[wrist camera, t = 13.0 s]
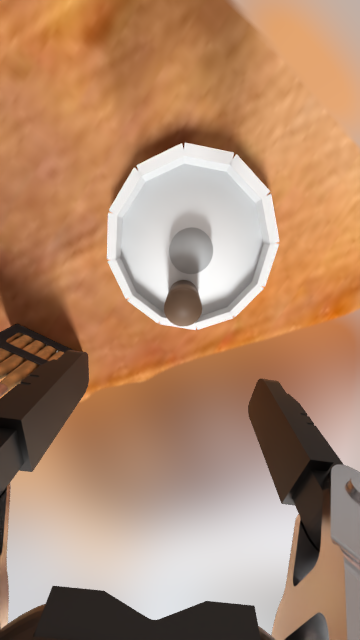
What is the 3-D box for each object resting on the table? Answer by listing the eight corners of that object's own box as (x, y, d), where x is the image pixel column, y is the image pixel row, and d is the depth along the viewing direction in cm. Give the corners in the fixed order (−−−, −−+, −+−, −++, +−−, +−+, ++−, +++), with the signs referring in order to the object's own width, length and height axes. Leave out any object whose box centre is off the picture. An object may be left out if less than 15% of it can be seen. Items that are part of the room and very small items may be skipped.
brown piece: (170, 277, 25) (166, 286, 19) (201, 282, 25) (205, 293, 19) (166, 306, 26) (161, 323, 20) (195, 311, 26) (198, 329, 21)
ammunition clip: (13, 333, 29) (-95, 388, 18) (16, 323, 28) (-94, 374, 17) (80, 363, 31) (20, 431, 19) (84, 355, 30) (25, 420, 19)
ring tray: (118, 141, 20) (110, 127, 18) (291, 175, 21) (305, 166, 18) (112, 309, 27) (105, 315, 25) (242, 330, 28) (247, 338, 25)
